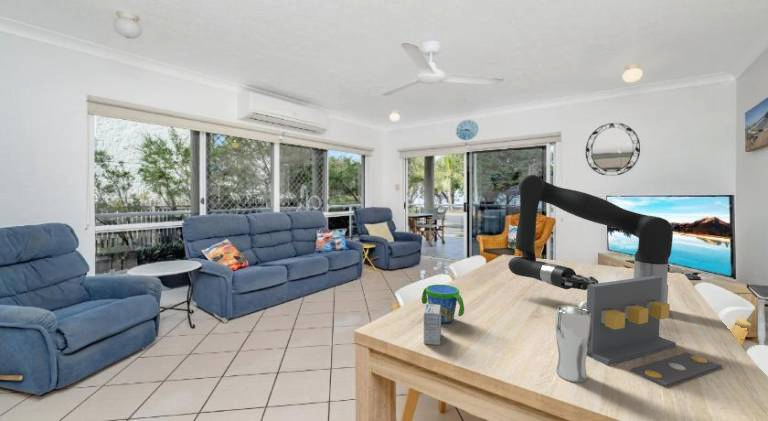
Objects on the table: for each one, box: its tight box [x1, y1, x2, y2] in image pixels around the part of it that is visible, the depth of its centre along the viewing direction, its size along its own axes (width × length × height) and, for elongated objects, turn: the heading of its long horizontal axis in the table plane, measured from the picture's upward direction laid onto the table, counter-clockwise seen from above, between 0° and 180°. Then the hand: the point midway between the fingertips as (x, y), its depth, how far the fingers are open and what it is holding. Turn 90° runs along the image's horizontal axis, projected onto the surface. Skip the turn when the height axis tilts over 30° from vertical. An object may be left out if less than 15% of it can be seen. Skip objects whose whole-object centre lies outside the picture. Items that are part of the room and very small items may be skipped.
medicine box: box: [423, 303, 442, 346], centre depth 93 cm, size 8×4×9 cm, turn 168°
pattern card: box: [630, 351, 723, 388], centre depth 78 cm, size 22×7×1 cm, turn 112°
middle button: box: [624, 305, 648, 324], centre depth 89 cm, size 4×10×4 cm, turn 22°
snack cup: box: [421, 284, 465, 324], centre depth 107 cm, size 16×10×10 cm
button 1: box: [577, 300, 625, 330], centre depth 86 cm, size 4×10×4 cm, turn 22°
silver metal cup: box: [555, 304, 592, 384], centre depth 75 cm, size 7×7×15 cm
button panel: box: [586, 276, 677, 367], centre depth 89 cm, size 27×10×18 cm, turn 112°
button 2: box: [646, 301, 671, 320], centre depth 92 cm, size 4×10×4 cm, turn 22°
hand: (605, 289), depth 102 cm, fingers closed
